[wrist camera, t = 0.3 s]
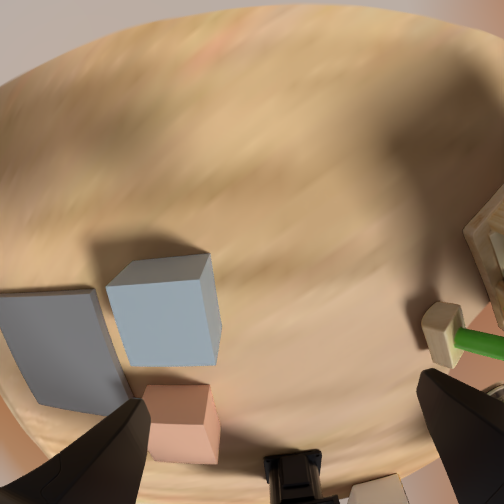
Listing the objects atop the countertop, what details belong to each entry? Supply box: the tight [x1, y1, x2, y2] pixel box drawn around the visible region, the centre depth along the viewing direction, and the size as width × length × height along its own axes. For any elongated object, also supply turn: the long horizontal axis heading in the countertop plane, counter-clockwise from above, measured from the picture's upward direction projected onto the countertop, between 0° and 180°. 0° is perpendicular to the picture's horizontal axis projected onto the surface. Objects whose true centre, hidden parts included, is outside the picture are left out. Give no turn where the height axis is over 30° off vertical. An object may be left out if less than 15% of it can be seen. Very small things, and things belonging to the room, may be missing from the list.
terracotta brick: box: [142, 385, 221, 464], centre depth 24 cm, size 6×6×5 cm
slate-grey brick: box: [106, 253, 222, 367], centre depth 20 cm, size 6×6×5 cm
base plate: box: [0, 289, 134, 416], centre depth 24 cm, size 14×14×1 cm
